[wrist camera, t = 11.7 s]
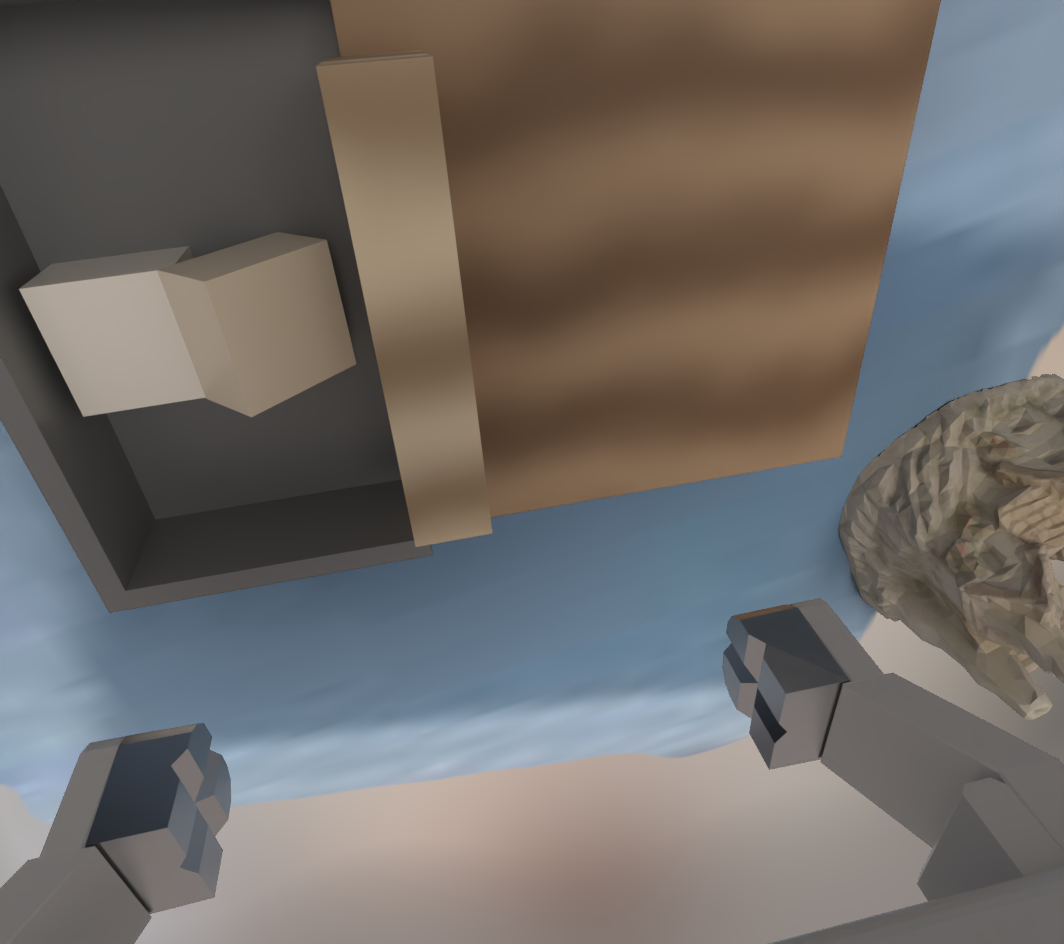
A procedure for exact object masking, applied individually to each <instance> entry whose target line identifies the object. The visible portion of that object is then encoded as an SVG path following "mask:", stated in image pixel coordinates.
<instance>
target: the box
mask: <svg viewBox="0 0 1064 944" xmlns="http://www.w3.org/2000/svg"><path fill="white" fill-rule="evenodd" d="M334 57H341V55H340V49H339V44H338V39H337V33H336V28H335V23H334V17H333V12H332V7H331V1H330V0H0V419H1V421H2V423H3V425H4V426H5V428H6V430H7V432H8V434H9V435H10V437H11V439H12V441H13V442H14V444H15V446H16V448H17V450H18V451H19V453H20V455H21V457H22V458H23V460H24V462H25V464H26V466H27V467H28V469H29V471H30V473H31V474H32V476H33V478H34V480H35V482H36V483H37V485H38V487H39V489H40V490H41V492H42V494H43V496H44V498H45V499H46V501H47V503H48V505H49V506H50V508H51V510H52V512H53V514H54V515H55V517H56V519H57V521H58V522H59V524H60V526H61V528H62V530H63V531H64V533H65V535H66V537H67V538H68V540H69V542H70V544H71V546H72V547H73V549H74V551H75V553H76V554H77V556H78V558H79V560H80V562H81V563H82V565H83V567H84V569H85V570H86V572H87V574H88V576H89V578H90V579H91V581H92V583H93V585H94V586H95V588H96V590H97V592H98V594H99V595H100V597H101V599H102V601H103V602H104V604H105V606H106V608H107V610H108V611H109V613H112V612H117V611H123V610H128V609H134V608H140V607H145V606H151V605H156V604H162V603H168V602H173V601H179V600H184V599H190V598H196V597H201V596H207V595H212V594H218V593H223V592H229V591H235V590H240V589H246V588H251V587H257V586H263V585H268V584H274V583H279V582H285V581H291V580H296V579H302V578H307V577H313V576H319V575H324V574H330V573H335V572H341V571H346V570H352V569H358V568H363V567H369V566H374V565H380V564H386V563H391V562H397V561H402V560H408V559H414V558H419V557H425V556H430V555H433V554H432V546H431V544H430V545H425V546H419V547H415V542H414V537H413V532H412V527H411V523H410V518H409V513H408V508H407V503H406V498H405V494H404V489H403V484H402V479H401V474H400V469H399V465H398V460H397V455H396V450H395V445H394V440H393V436H392V431H391V426H390V421H389V416H388V412H387V407H386V402H385V397H384V392H383V387H382V383H381V378H380V373H379V368H378V363H377V358H376V354H375V349H374V344H373V339H372V334H371V329H370V325H369V320H368V315H367V310H366V305H365V301H364V296H363V291H362V286H361V281H360V276H359V272H358V267H357V262H356V257H355V252H354V247H353V243H352V238H351V233H350V228H349V223H348V218H347V214H346V209H345V204H344V199H343V194H342V190H341V185H340V180H339V175H338V170H337V165H336V161H335V156H334V151H333V146H332V141H331V136H330V132H329V127H328V122H327V117H326V112H325V107H324V103H323V98H322V93H321V88H320V83H319V79H318V74H317V69H316V66H317V65H318V64H319V63H320V62H322V61H323V60H324V59H325V58H334ZM275 232H282V233H288V234H294V235H301V236H307V237H313V238H319V239H325V240H327V243H328V247H329V251H330V255H331V260H332V264H333V268H334V272H335V276H336V280H337V285H338V289H339V293H340V297H341V301H342V305H343V310H344V314H345V318H346V322H347V326H348V330H349V334H350V339H351V343H352V347H353V351H354V355H355V359H356V365H354V366H352V367H350V368H348V369H346V370H344V371H342V372H340V373H338V374H336V375H334V376H332V377H330V378H328V379H326V380H324V381H322V382H320V383H318V384H316V385H314V386H312V387H310V388H308V389H306V390H305V391H303V392H301V393H299V394H297V395H295V396H293V397H291V398H289V399H287V400H285V401H283V402H281V403H279V404H277V405H275V406H273V407H271V408H269V409H267V410H265V411H263V412H261V413H259V414H257V415H255V416H253V417H250V416H247V415H245V414H242V413H240V412H237V411H235V410H233V409H230V408H228V407H225V406H223V405H220V404H218V403H216V402H213V401H211V400H208V399H206V398H200V399H193V400H187V401H180V402H174V403H168V404H161V405H155V406H149V407H142V408H136V409H129V410H123V411H117V412H110V413H104V414H98V415H91V416H85V417H83V415H82V413H81V411H80V409H79V407H78V405H77V403H76V401H75V399H74V397H73V395H72V393H71V391H70V389H69V387H68V385H67V383H66V382H65V380H64V378H63V376H62V374H61V372H60V370H59V368H58V366H57V364H56V362H55V360H54V358H53V356H52V354H51V352H50V350H49V348H48V346H47V344H46V342H45V340H44V338H43V336H42V334H41V332H40V330H39V328H38V326H37V324H36V322H35V320H34V318H33V316H32V314H31V312H30V310H29V308H28V306H27V304H26V302H25V300H24V298H23V296H22V294H21V292H20V290H19V288H21V287H22V286H23V285H25V284H26V283H27V282H29V281H30V280H31V279H32V278H34V277H35V276H36V275H38V274H39V273H40V272H42V271H43V270H44V269H46V268H47V267H48V266H49V265H51V264H54V263H62V262H70V261H77V260H85V259H93V258H100V257H108V256H116V255H123V254H131V253H138V252H146V251H154V250H161V249H169V248H177V247H184V246H189V247H190V250H191V252H192V255H193V258H197V257H200V256H203V255H206V254H209V253H212V252H216V251H219V250H222V249H225V248H228V247H231V246H234V245H238V244H241V243H244V242H247V241H250V240H253V239H257V238H260V237H263V236H266V235H269V234H272V233H275Z"/></svg>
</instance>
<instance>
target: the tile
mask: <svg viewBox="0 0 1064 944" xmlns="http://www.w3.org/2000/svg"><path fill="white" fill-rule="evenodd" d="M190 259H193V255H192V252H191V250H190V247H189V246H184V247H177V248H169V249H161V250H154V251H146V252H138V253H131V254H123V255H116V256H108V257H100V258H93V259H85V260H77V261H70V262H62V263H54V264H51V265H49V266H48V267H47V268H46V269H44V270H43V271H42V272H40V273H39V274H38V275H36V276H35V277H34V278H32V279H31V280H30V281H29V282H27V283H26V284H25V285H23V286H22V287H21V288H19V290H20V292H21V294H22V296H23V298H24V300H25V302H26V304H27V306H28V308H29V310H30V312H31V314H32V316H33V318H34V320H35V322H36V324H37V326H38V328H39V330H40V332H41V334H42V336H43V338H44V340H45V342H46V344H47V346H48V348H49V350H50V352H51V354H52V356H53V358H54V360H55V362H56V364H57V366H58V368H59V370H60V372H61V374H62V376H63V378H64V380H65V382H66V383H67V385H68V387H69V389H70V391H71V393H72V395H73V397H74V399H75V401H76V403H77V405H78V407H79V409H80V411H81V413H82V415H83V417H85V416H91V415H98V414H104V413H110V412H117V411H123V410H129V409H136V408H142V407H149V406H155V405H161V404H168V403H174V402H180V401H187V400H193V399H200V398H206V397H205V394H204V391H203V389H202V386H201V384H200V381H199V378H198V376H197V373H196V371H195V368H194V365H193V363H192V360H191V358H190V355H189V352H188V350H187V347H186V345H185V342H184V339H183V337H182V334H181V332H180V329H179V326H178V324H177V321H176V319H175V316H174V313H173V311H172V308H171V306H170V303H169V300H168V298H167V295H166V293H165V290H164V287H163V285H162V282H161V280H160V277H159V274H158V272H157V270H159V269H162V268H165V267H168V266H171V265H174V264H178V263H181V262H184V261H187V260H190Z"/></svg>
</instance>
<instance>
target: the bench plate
mask: <svg viewBox="0 0 1064 944" xmlns="http://www.w3.org/2000/svg"><path fill="white" fill-rule="evenodd" d="M330 1H331V7H332V12H333V17H334V23H335V28H336V33H337V39H338V44H339V49H340V55H341V57H346V56H358V55H369V54H381V53H393V52H404V51H416V50H421V51H423V52H425V53H427V54H429V55H431V56H433V62H434V70H435V78H436V86H437V94H438V102H439V110H440V118H441V126H442V134H443V142H444V150H445V158H446V166H447V174H448V182H449V190H450V198H451V206H452V214H453V222H454V230H455V238H456V246H457V254H458V262H459V270H460V278H461V286H462V294H463V302H464V310H465V318H466V326H467V334H468V342H469V350H470V358H471V366H472V374H473V382H474V390H475V398H476V406H477V414H478V422H479V430H480V438H481V446H482V453H483V461H484V469H485V477H486V485H487V493H488V501H489V509H490V517H496V516H502V515H508V514H513V513H519V512H525V511H531V510H536V509H542V508H548V507H554V506H559V505H565V504H571V503H577V502H582V501H588V500H594V499H600V498H605V497H611V496H617V495H623V494H628V493H634V492H640V491H646V490H652V489H657V488H663V487H669V486H675V485H680V484H686V483H692V482H698V481H703V480H709V479H715V478H721V477H726V476H732V475H738V474H744V473H749V472H755V471H761V470H767V469H772V468H778V467H784V466H790V465H795V464H801V463H807V462H813V461H818V460H824V459H830V458H836V457H842V452H843V447H844V443H845V438H846V434H847V429H848V424H849V420H850V415H851V411H852V406H853V401H854V397H855V392H856V388H857V383H858V379H859V374H860V369H861V365H862V360H863V356H864V351H865V346H866V342H867V337H868V333H869V328H870V323H871V319H872V314H873V310H874V305H875V300H876V296H877V291H878V287H879V282H880V277H881V273H882V268H883V264H884V259H885V254H886V250H887V245H888V241H889V236H890V231H891V227H892V222H893V218H894V213H895V208H896V204H897V199H898V195H899V190H900V185H901V181H902V176H903V172H904V167H905V162H906V158H907V153H908V149H909V144H910V139H911V135H912V130H913V126H914V121H915V117H916V112H917V107H918V103H919V98H920V94H921V89H922V84H923V80H924V75H925V71H926V66H927V61H928V57H929V52H930V48H931V43H932V38H933V34H934V29H935V25H936V20H937V15H938V11H939V6H940V2H941V0H330Z"/></svg>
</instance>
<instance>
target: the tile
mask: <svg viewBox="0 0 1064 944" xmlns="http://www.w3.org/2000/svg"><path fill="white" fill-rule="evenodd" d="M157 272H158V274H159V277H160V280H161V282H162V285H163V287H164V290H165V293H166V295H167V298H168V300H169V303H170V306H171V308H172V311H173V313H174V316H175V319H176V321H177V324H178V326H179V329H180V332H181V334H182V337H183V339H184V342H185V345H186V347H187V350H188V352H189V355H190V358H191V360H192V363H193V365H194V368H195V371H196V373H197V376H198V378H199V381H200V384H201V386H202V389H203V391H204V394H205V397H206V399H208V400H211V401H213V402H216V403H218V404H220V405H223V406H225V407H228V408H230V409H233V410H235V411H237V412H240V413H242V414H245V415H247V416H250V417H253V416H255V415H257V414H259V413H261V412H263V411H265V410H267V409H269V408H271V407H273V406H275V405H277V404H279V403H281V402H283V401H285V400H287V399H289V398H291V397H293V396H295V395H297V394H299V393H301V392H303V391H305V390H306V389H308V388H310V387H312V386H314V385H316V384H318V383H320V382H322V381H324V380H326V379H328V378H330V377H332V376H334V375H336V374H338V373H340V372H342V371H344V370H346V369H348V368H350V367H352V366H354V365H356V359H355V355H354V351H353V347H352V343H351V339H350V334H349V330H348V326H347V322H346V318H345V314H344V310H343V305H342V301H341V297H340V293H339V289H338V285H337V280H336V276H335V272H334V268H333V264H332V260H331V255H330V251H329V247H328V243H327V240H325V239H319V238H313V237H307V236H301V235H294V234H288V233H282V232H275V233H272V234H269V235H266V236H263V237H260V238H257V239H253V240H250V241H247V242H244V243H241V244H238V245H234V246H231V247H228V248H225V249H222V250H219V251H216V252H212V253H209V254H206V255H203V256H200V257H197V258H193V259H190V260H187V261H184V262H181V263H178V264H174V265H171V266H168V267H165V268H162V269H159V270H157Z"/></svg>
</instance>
